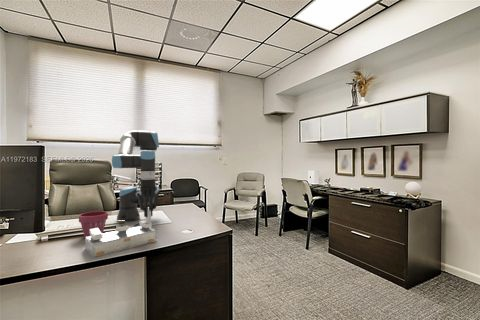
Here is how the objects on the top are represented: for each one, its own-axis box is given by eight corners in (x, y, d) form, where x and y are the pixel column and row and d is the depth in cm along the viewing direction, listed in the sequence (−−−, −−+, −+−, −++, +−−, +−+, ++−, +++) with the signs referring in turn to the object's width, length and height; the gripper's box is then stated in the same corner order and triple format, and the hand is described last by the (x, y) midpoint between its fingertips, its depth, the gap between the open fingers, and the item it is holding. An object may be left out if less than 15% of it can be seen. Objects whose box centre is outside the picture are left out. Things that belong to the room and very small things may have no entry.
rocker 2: (116, 231, 123) (116, 227, 123) (123, 230, 125) (123, 225, 125) (121, 231, 117) (120, 226, 117) (128, 229, 119) (128, 224, 120)
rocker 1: (89, 233, 114) (89, 228, 114) (97, 231, 117) (98, 227, 117) (93, 240, 109) (93, 235, 109) (102, 238, 111) (102, 233, 111)
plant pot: (106, 230, 146) (106, 209, 145) (109, 236, 134) (109, 214, 134) (78, 234, 137) (78, 212, 137) (79, 241, 126) (79, 217, 126)
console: (85, 248, 116) (85, 234, 116) (145, 234, 137) (145, 222, 137) (92, 258, 105) (92, 241, 105) (156, 241, 126) (156, 228, 126)
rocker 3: (139, 224, 131) (139, 220, 131) (145, 223, 134) (145, 219, 134) (145, 228, 125) (145, 223, 125) (151, 226, 128) (151, 222, 128)
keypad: (124, 227, 140) (139, 220, 155) (124, 233, 140) (139, 226, 155) (139, 228, 138) (152, 221, 153) (139, 234, 138) (152, 227, 153)
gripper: (138, 180, 119) (138, 226, 119) (162, 178, 129) (163, 221, 128) (132, 179, 125) (133, 223, 124) (156, 178, 134) (157, 219, 134)
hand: (148, 222), depth 126 cm, fingers closed
